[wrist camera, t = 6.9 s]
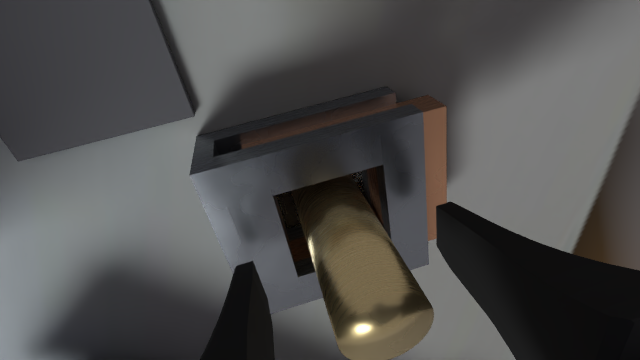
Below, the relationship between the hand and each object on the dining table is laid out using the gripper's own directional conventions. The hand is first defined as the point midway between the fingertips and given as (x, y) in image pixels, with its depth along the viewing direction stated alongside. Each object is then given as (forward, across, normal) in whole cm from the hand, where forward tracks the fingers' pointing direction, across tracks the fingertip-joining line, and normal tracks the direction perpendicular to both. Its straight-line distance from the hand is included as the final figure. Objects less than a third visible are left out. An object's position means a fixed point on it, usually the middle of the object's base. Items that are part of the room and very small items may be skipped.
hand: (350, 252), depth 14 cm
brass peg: (+5, 0, 0) cm, 5 cm away
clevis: (+5, 0, 0) cm, 5 cm away
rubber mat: (+5, +8, -8) cm, 13 cm away
